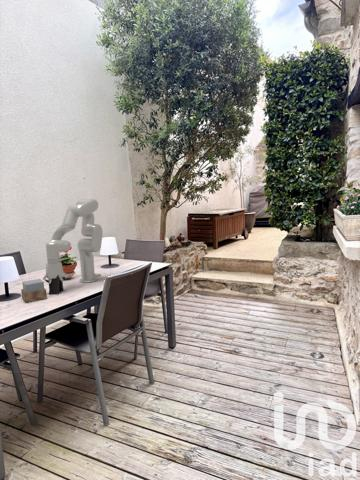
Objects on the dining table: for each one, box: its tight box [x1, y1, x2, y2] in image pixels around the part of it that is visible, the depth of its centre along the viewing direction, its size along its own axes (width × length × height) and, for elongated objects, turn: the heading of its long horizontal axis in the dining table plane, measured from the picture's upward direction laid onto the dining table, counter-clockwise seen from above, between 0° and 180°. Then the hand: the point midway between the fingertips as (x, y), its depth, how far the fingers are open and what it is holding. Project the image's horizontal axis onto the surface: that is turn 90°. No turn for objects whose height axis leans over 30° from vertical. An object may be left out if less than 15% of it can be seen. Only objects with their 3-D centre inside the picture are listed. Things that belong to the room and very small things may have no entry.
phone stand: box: [48, 275, 65, 295], centre depth 196 cm, size 9×6×12 cm, turn 178°
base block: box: [20, 287, 48, 304], centre depth 185 cm, size 12×12×6 cm
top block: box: [22, 278, 45, 293], centre depth 184 cm, size 10×10×5 cm
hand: (56, 287), depth 196 cm, fingers closed on phone stand, 5 cm apart
